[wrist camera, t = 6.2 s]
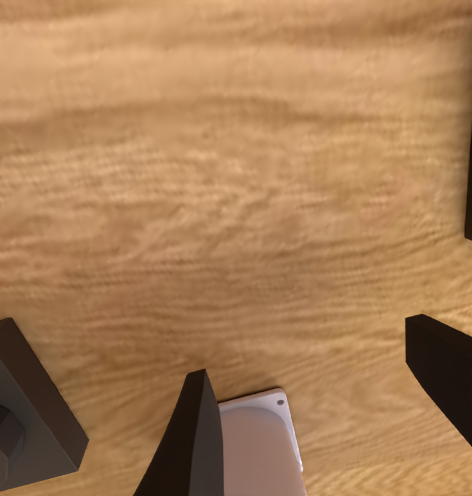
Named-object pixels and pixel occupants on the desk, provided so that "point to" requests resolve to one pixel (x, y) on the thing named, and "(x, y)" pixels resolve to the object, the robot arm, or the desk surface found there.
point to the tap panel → (469, 203)
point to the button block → (32, 418)
